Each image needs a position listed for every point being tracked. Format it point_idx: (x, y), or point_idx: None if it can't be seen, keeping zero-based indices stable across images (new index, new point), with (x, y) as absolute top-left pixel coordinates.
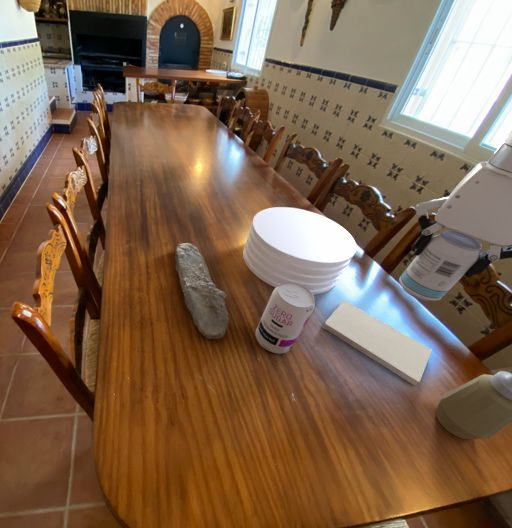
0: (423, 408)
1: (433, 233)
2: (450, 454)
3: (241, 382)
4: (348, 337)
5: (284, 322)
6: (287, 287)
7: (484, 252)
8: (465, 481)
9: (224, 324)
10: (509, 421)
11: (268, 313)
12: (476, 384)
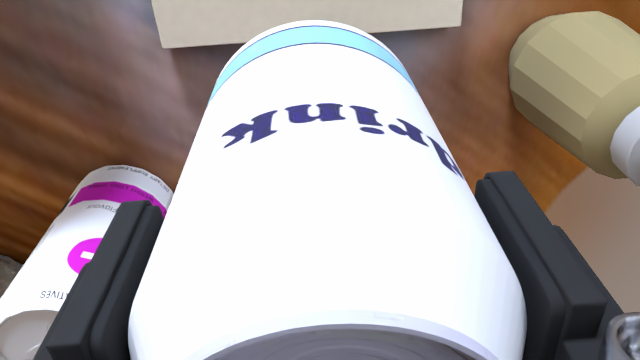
0: (482, 75)
1: (99, 354)
2: (539, 141)
3: None
4: (246, 40)
5: None
6: (17, 344)
7: (565, 293)
8: (563, 171)
9: None
10: None
11: None
12: (576, 143)
